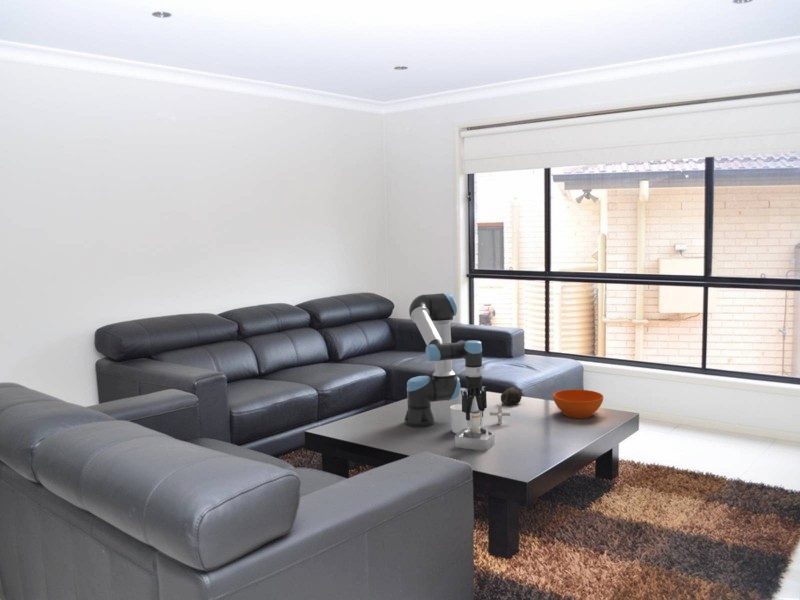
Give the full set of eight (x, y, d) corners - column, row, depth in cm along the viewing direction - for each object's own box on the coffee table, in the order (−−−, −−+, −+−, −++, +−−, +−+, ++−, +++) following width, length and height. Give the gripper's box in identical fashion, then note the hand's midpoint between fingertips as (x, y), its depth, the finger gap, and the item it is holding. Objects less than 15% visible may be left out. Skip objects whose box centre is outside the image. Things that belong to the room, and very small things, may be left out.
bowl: (585, 405, 388) (585, 387, 387) (613, 417, 364) (613, 398, 363) (544, 411, 380) (543, 392, 379) (569, 423, 356) (569, 403, 355)
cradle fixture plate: (455, 447, 326) (454, 432, 325) (463, 440, 335) (463, 425, 335) (486, 451, 319) (486, 435, 318) (494, 443, 329) (494, 428, 328)
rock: (497, 403, 394) (499, 385, 393) (506, 401, 403) (509, 384, 402) (513, 407, 388) (516, 389, 387) (522, 405, 397) (525, 388, 397)
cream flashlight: (474, 436, 323) (473, 414, 322) (466, 433, 327) (466, 411, 326) (483, 434, 326) (482, 411, 325) (475, 431, 330) (475, 409, 329)
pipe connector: (509, 427, 353) (509, 407, 352) (489, 426, 355) (488, 406, 354) (510, 421, 363) (510, 401, 362) (490, 420, 365) (490, 401, 364)
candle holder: (457, 435, 343) (456, 410, 341) (446, 430, 351) (446, 406, 350) (474, 432, 347) (474, 407, 346) (463, 426, 356) (463, 403, 355)
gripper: (463, 379, 315) (464, 431, 318) (494, 373, 325) (495, 424, 328) (452, 376, 322) (453, 427, 324) (483, 370, 331) (484, 420, 334)
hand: (474, 425), depth 326 cm, fingers closed on cream flashlight, 5 cm apart
